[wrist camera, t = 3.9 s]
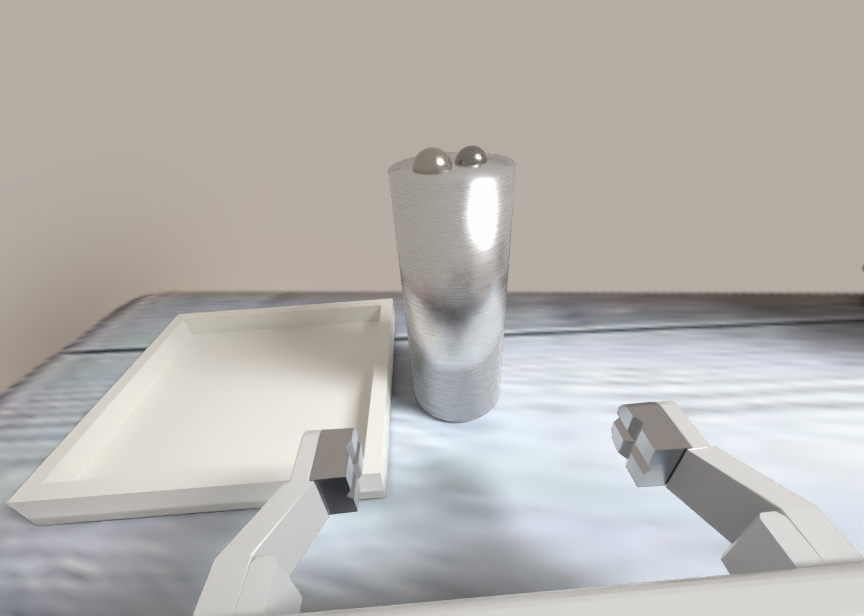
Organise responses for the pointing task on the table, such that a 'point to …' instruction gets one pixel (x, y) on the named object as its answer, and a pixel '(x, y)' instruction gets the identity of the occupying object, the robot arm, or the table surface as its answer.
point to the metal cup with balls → (454, 274)
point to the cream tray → (224, 414)
